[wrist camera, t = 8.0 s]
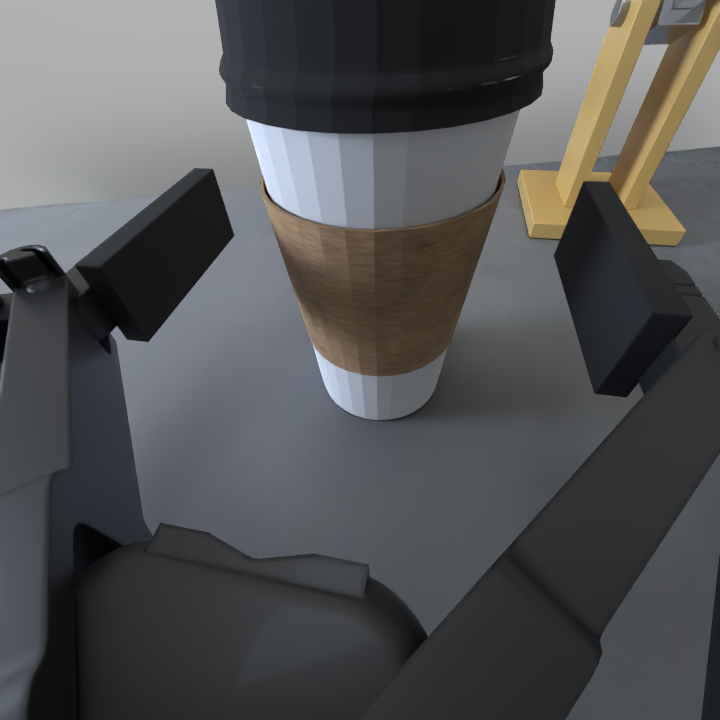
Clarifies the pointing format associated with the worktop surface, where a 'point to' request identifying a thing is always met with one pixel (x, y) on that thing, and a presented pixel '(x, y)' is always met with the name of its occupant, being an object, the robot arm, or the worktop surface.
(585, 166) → the lever stand
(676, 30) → the lever handle
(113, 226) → the worktop surface
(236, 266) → the worktop surface
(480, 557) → the worktop surface
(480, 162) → the coffee cup
